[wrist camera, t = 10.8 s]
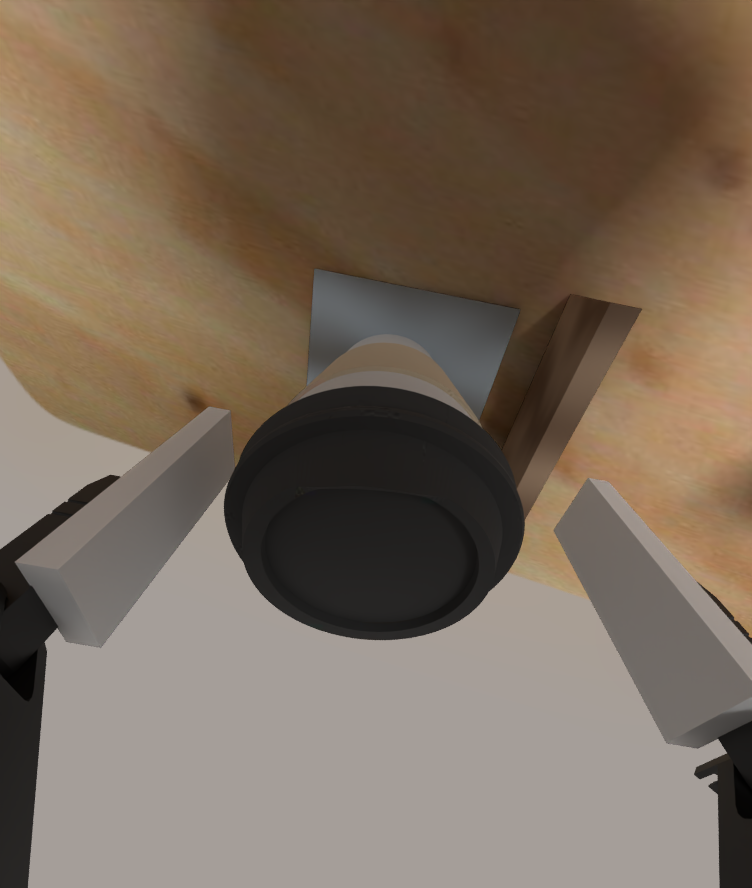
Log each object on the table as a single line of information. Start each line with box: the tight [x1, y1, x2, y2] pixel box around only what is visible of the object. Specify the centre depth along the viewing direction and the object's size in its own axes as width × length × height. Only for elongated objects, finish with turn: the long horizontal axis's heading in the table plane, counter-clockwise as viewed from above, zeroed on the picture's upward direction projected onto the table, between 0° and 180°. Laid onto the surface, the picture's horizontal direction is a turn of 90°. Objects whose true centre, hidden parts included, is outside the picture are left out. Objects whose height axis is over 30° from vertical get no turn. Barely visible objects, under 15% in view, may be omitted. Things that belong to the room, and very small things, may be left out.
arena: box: [307, 269, 642, 520], centre depth 20 cm, size 15×17×4 cm
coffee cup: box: [224, 334, 525, 640], centre depth 15 cm, size 9×9×15 cm
